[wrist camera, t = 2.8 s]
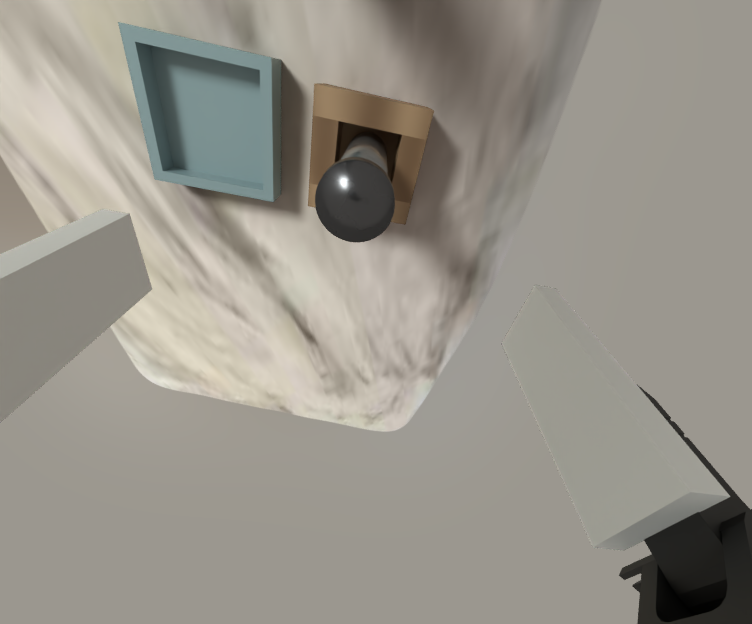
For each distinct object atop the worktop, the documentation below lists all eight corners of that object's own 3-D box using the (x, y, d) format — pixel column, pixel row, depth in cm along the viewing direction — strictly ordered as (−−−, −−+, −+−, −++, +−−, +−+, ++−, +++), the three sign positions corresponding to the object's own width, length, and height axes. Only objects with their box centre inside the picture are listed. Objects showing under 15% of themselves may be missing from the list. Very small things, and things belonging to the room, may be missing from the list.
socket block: (316, 191, 35) (307, 205, 31) (324, 83, 29) (314, 83, 25) (403, 208, 36) (405, 224, 32) (427, 107, 30) (433, 110, 26)
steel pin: (341, 174, 33) (312, 234, 20) (347, 122, 30) (317, 152, 17) (385, 183, 33) (385, 248, 20) (395, 133, 30) (403, 170, 17)
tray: (170, 172, 34) (154, 179, 31) (141, 27, 27) (117, 21, 24) (281, 193, 35) (273, 202, 33) (281, 59, 28) (271, 57, 25)
